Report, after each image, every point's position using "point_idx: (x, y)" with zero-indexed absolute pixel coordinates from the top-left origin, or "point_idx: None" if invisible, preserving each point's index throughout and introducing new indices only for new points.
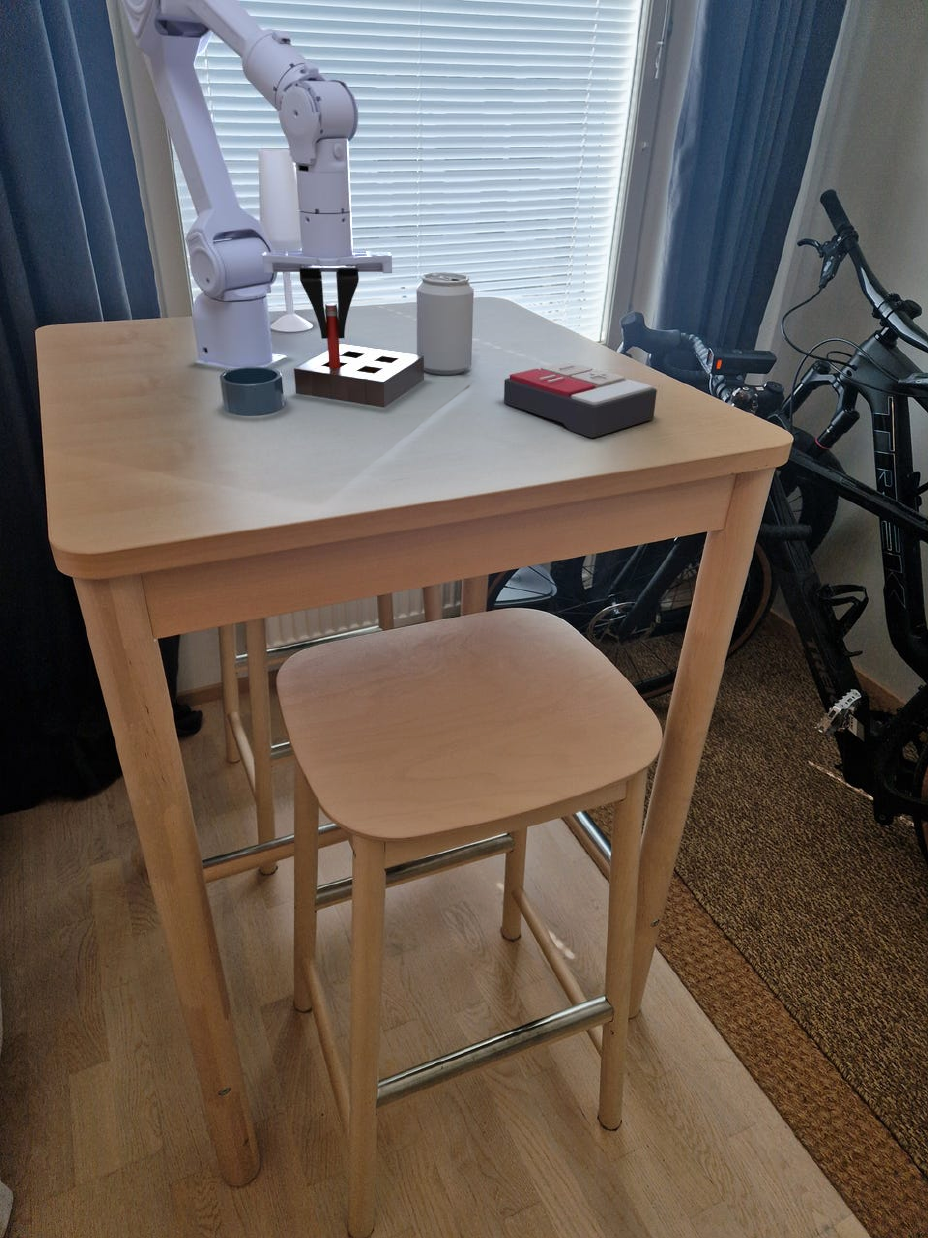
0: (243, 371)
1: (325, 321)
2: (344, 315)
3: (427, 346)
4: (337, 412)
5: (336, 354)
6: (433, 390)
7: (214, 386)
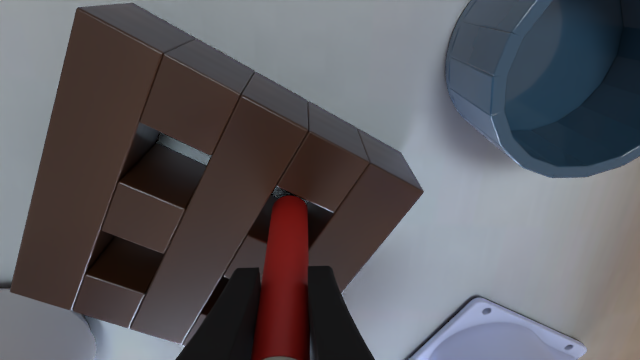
0: (597, 155)
1: (312, 315)
2: (200, 344)
3: (17, 353)
4: (287, 6)
5: (277, 231)
6: (18, 184)
7: (582, 233)
